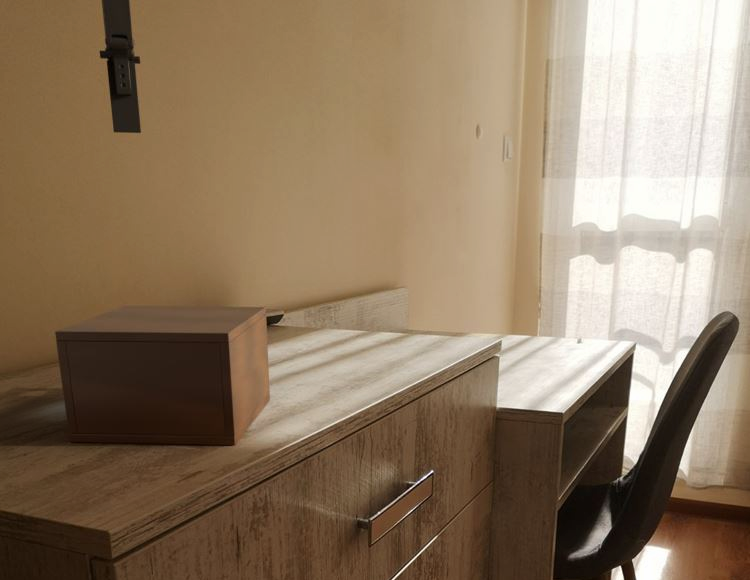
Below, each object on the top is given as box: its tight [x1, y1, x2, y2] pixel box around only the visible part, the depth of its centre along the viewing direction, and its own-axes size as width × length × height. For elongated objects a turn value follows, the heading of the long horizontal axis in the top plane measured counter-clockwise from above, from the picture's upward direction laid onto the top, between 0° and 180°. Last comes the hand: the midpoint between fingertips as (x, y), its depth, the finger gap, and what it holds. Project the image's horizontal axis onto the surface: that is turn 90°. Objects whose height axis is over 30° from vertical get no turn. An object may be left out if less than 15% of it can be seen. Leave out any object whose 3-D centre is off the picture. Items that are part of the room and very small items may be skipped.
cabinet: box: [54, 305, 271, 446], centre depth 77 cm, size 17×15×10 cm
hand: (127, 131), depth 85 cm, fingers closed
